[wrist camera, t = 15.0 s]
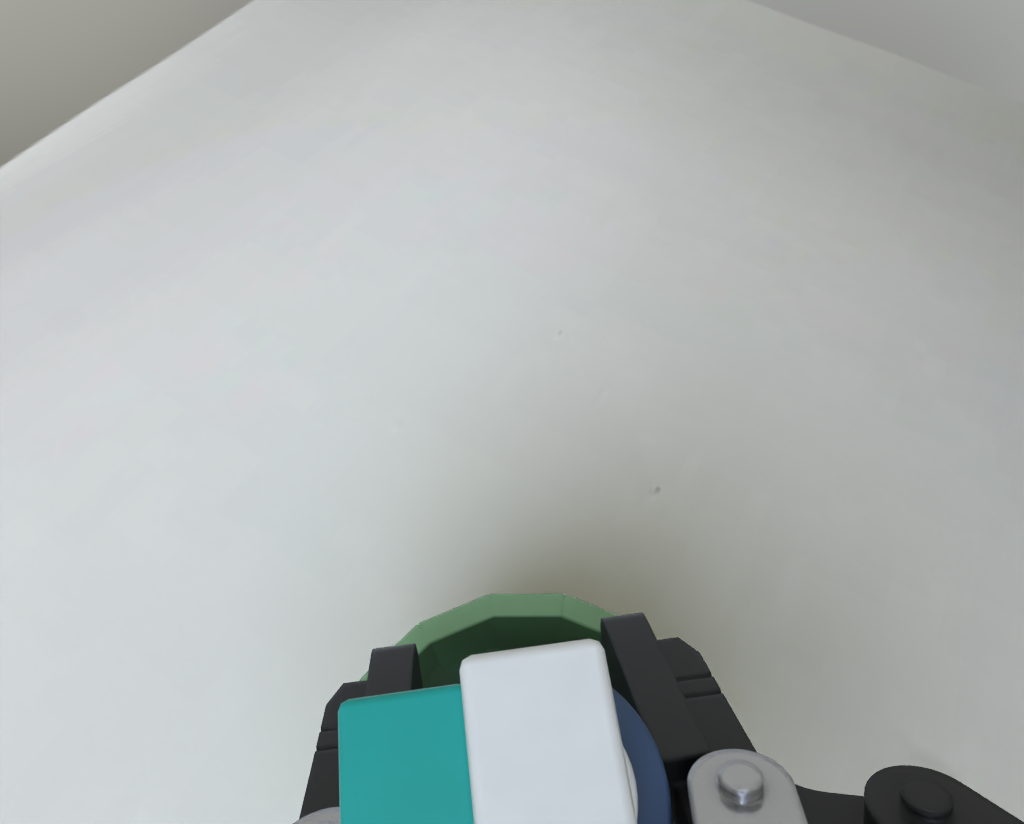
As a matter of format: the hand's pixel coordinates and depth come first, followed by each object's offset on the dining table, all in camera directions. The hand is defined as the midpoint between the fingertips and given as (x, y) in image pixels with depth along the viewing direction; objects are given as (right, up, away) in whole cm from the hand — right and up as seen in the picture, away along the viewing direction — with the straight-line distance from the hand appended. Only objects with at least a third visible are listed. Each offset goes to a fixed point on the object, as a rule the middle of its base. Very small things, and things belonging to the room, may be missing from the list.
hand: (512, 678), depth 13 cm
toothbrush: (0, -5, +5) cm, 8 cm away
